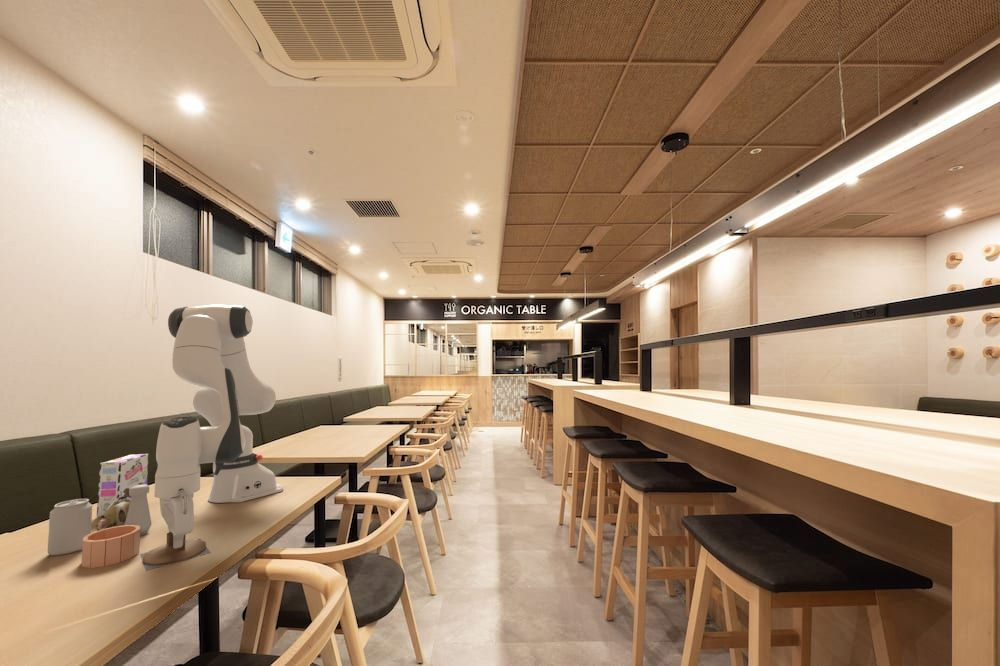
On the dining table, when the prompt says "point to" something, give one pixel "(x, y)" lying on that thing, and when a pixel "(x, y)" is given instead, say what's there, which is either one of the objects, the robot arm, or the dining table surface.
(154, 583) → the dining table surface
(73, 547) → the can
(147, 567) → the mat
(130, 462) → the candy box
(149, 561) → the lid
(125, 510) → the ceramic sculpture
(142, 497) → the salt shaker
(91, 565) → the bowl
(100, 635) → the dining table surface
